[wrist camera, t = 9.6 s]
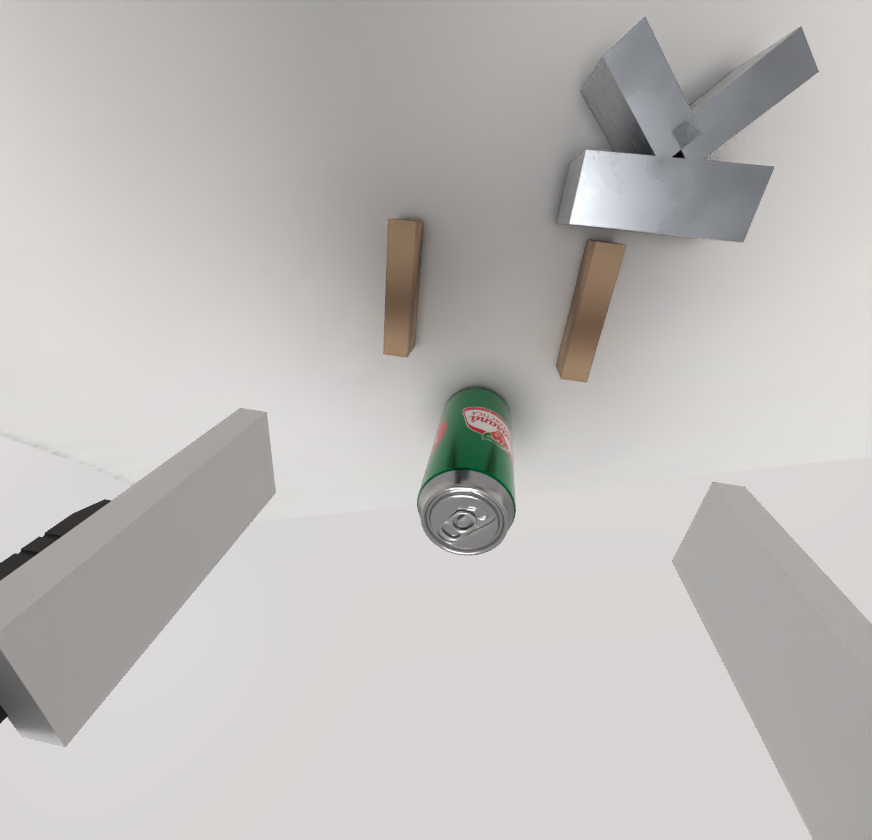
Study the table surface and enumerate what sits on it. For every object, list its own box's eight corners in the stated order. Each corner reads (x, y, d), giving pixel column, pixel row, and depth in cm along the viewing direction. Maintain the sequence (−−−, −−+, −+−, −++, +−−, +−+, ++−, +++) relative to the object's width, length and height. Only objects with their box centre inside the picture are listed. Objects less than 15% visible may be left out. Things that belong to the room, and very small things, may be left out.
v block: (587, 59, 20) (612, 14, 16) (759, 72, 19) (836, 28, 15) (553, 222, 24) (565, 223, 19) (699, 238, 23) (747, 242, 18)
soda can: (524, 416, 29) (539, 526, 19) (477, 456, 32) (465, 576, 21) (475, 371, 28) (461, 461, 18) (430, 416, 31) (392, 519, 20)
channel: (398, 219, 25) (388, 218, 22) (614, 242, 24) (626, 245, 21) (392, 343, 28) (383, 353, 26) (579, 369, 27) (586, 382, 25)
